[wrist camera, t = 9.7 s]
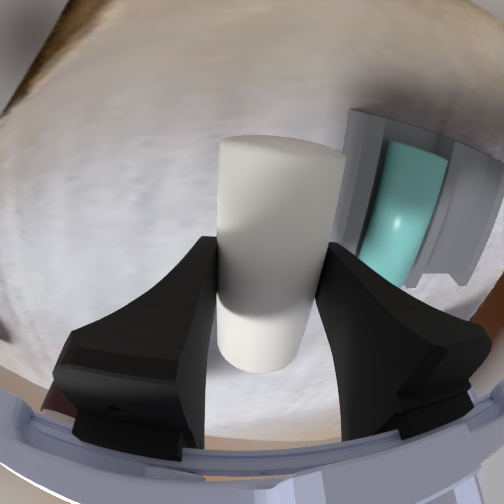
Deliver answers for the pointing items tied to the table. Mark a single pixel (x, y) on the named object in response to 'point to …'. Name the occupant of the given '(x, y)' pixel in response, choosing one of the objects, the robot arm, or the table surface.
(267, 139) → the white rod
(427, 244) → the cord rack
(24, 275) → the table surface
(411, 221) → the teal rod
